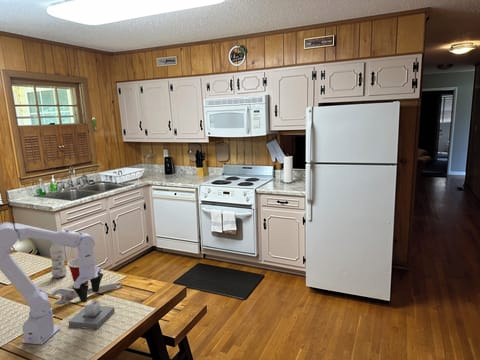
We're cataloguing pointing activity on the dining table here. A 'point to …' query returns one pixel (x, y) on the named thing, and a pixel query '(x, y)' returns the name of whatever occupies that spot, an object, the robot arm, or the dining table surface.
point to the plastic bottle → (57, 260)
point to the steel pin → (92, 308)
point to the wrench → (71, 294)
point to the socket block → (95, 322)
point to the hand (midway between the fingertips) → (89, 296)
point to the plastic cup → (75, 269)
